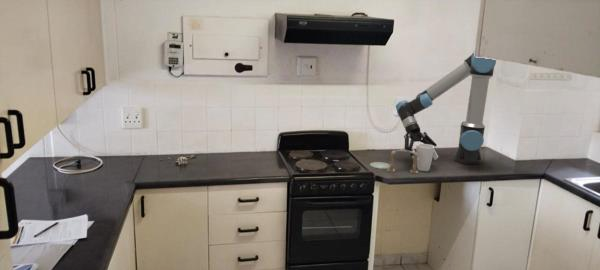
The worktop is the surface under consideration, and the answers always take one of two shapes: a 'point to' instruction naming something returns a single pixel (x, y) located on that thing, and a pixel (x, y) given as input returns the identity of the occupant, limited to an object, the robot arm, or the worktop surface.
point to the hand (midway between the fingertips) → (426, 159)
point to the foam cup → (424, 156)
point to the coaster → (380, 165)
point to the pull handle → (413, 161)
